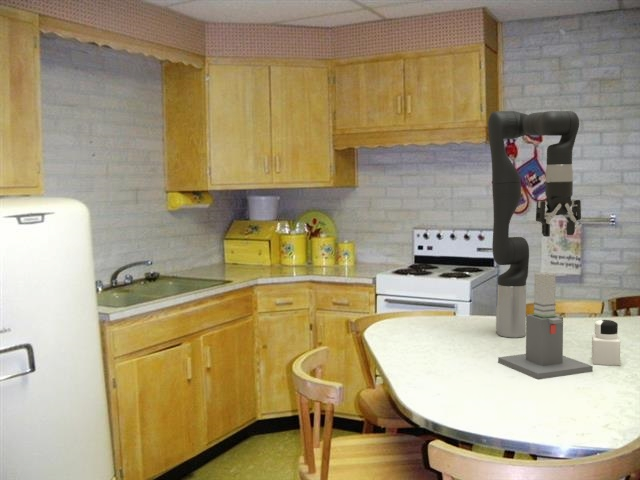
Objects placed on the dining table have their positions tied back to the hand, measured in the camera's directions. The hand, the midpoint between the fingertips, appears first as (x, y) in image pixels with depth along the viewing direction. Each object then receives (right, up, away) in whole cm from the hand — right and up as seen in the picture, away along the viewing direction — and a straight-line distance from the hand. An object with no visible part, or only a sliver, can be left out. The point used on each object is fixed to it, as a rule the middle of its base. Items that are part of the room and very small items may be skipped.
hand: (558, 235), depth 199 cm
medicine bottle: (+12, -37, -4) cm, 39 cm away
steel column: (-7, -29, -9) cm, 31 cm away
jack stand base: (-7, -37, -8) cm, 38 cm away
